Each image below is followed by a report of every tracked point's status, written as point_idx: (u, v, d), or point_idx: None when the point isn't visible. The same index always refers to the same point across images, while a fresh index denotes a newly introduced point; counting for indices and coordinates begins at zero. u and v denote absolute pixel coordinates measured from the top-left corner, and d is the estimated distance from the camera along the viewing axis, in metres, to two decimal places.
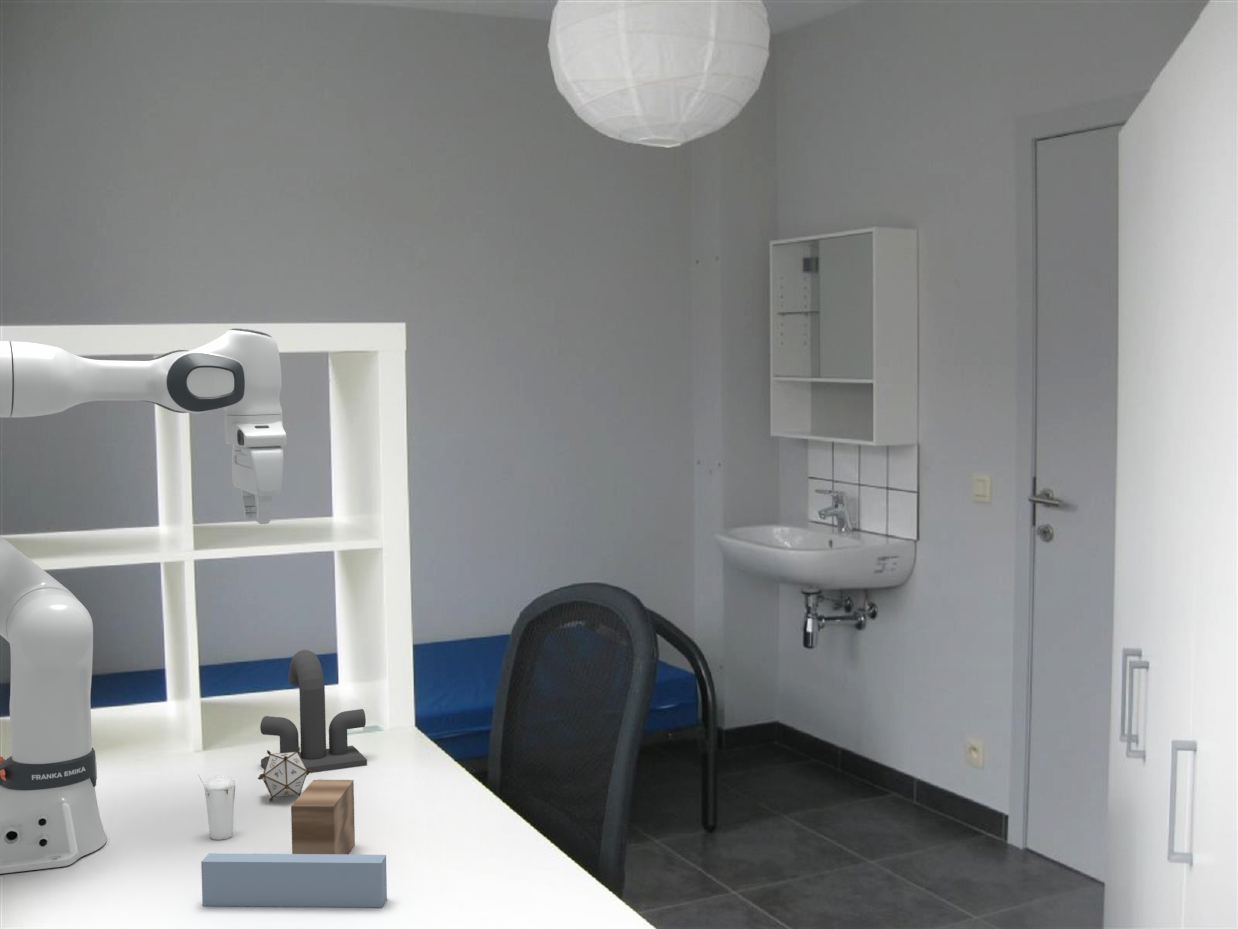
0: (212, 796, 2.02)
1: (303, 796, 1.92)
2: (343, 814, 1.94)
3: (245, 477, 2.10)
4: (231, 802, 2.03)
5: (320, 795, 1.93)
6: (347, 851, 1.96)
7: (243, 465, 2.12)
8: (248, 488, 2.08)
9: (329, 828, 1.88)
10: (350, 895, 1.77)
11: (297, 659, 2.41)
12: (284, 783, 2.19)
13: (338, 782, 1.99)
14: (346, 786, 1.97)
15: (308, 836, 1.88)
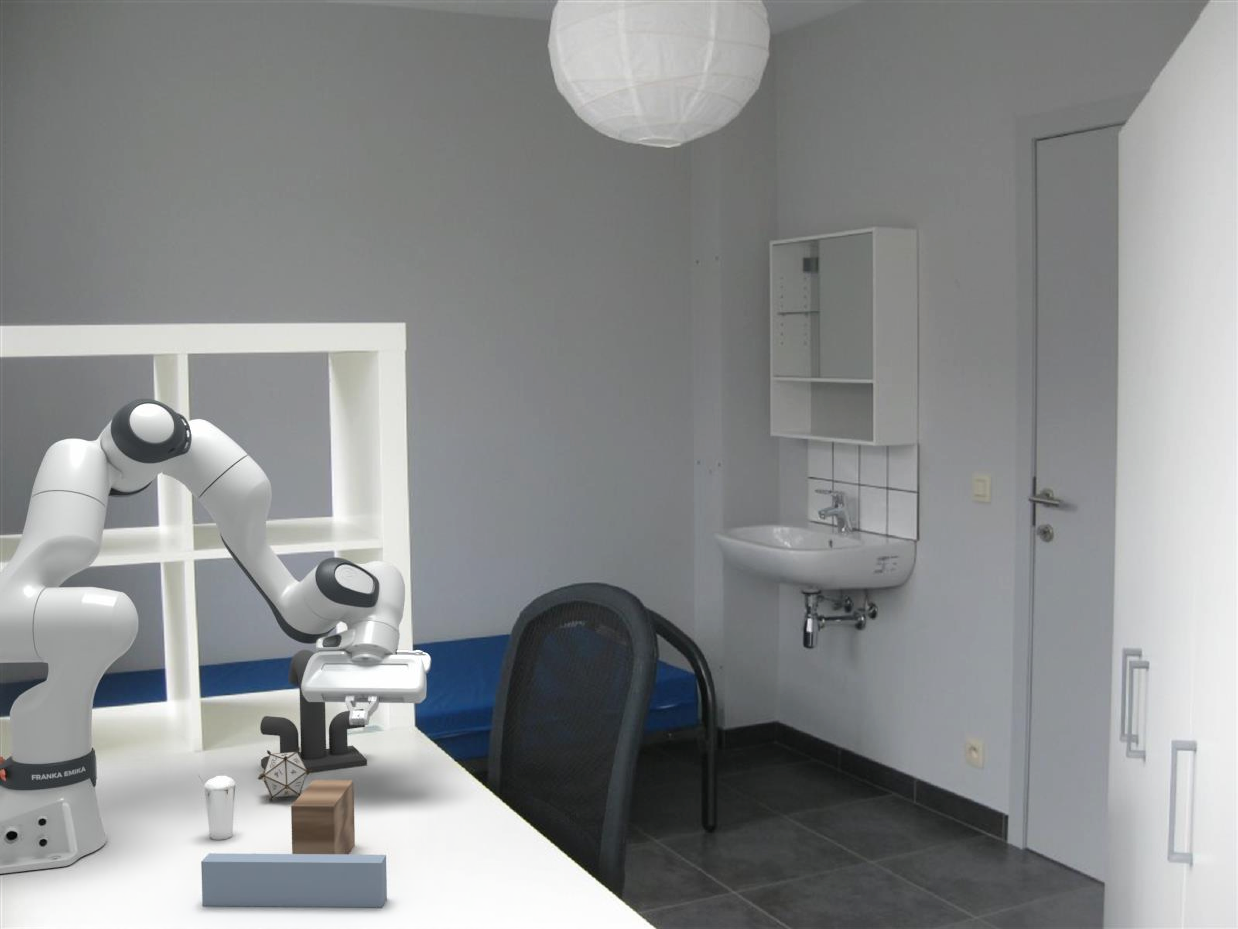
0: (212, 796, 2.02)
1: (303, 796, 1.92)
2: (343, 814, 1.94)
3: None
4: (231, 802, 2.03)
5: (320, 795, 1.93)
6: (347, 851, 1.96)
7: None
8: (344, 699, 2.21)
9: (329, 828, 1.88)
10: (350, 895, 1.77)
11: (297, 659, 2.41)
12: (284, 783, 2.19)
13: (338, 782, 1.99)
14: (346, 786, 1.97)
15: (308, 836, 1.88)
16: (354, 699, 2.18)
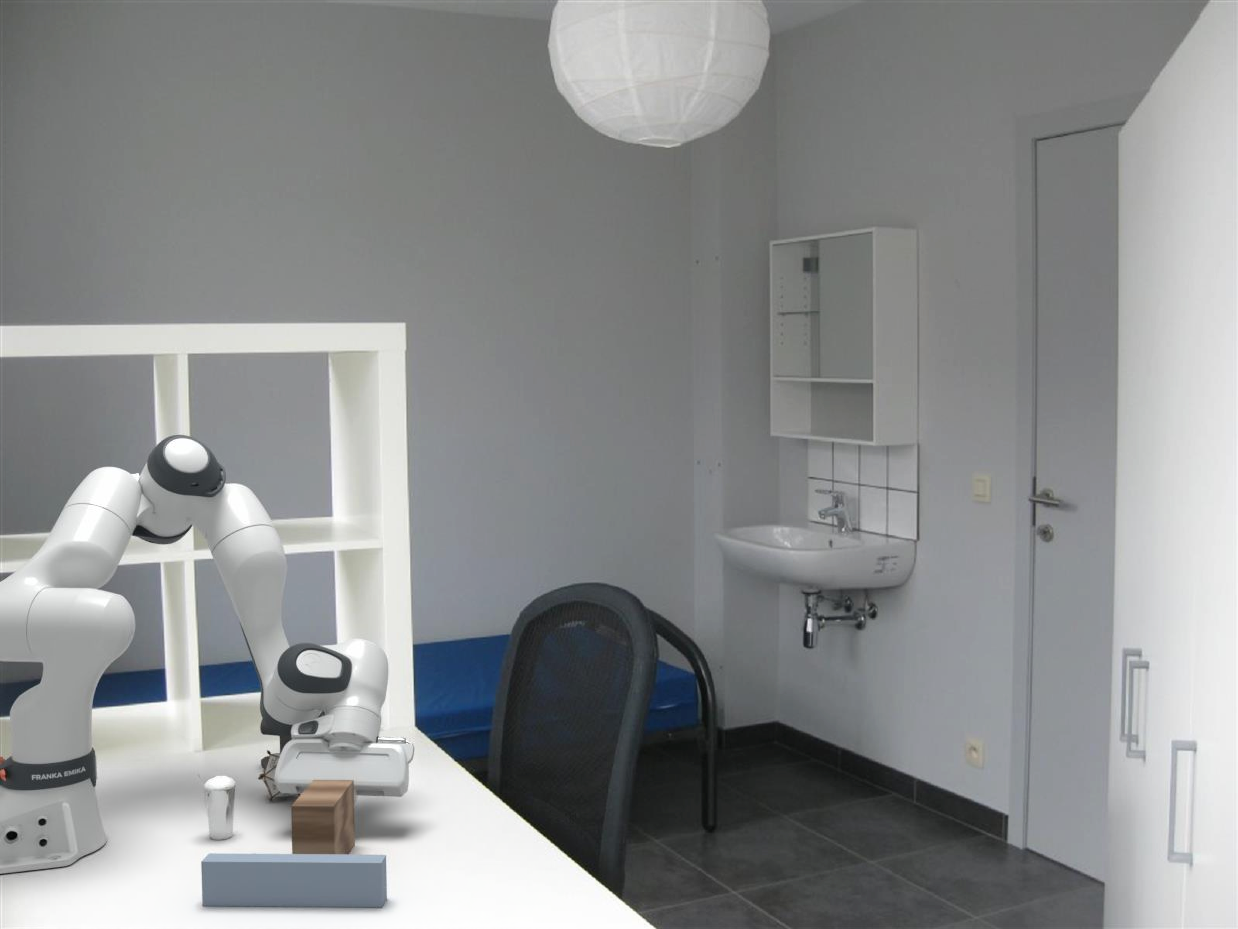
0: (212, 796, 2.02)
1: (303, 796, 1.92)
2: (343, 814, 1.94)
3: None
4: (231, 802, 2.03)
5: (320, 794, 1.93)
6: (347, 851, 1.96)
7: None
8: None
9: (329, 828, 1.88)
10: (350, 895, 1.77)
11: None
12: None
13: (338, 782, 1.99)
14: (346, 786, 1.97)
15: (308, 836, 1.88)
16: None
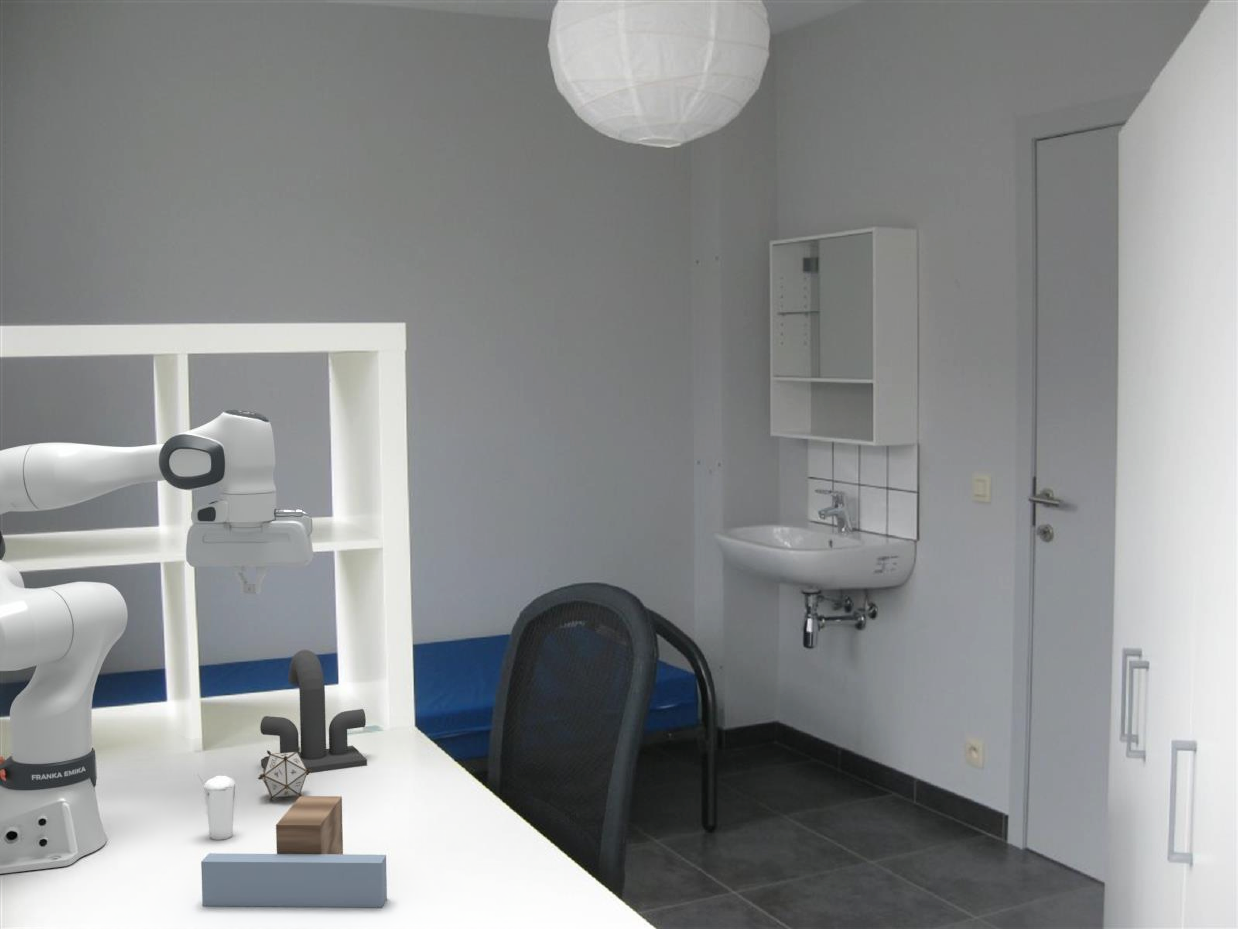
0: (212, 796, 2.02)
1: (289, 814, 1.85)
2: (331, 833, 1.86)
3: None
4: (231, 802, 2.03)
5: (307, 812, 1.85)
6: None
7: None
8: None
9: (316, 848, 1.81)
10: (350, 895, 1.77)
11: (297, 659, 2.41)
12: (284, 783, 2.19)
13: (326, 799, 1.91)
14: (334, 803, 1.89)
15: None
16: (242, 569, 2.20)
